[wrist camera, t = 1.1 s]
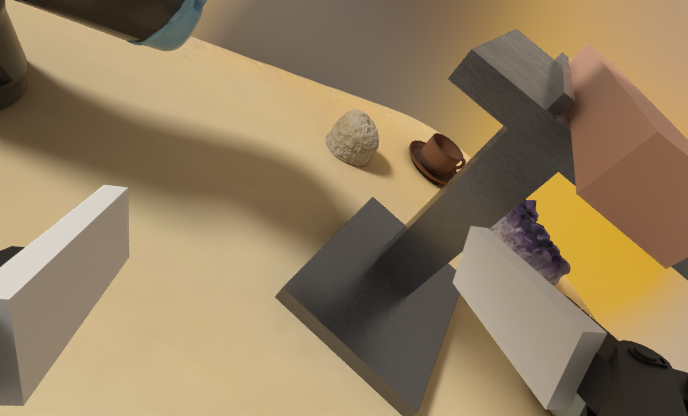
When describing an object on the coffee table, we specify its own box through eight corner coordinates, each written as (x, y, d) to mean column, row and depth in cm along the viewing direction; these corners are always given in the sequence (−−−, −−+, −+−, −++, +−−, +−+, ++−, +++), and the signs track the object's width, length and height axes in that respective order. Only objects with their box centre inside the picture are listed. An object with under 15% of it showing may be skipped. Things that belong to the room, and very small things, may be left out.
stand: (399, 435, 38) (758, 257, 20) (263, 308, 40) (484, 33, 21) (458, 277, 61) (653, 126, 43) (370, 200, 62) (523, 20, 44)
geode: (462, 205, 78) (503, 171, 73) (496, 223, 85) (535, 193, 80) (508, 293, 64) (563, 259, 59) (544, 307, 71) (596, 277, 66)
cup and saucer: (433, 151, 88) (452, 131, 84) (461, 192, 82) (482, 171, 78) (395, 143, 81) (413, 120, 77) (422, 187, 74) (443, 164, 71)
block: (666, 269, 14) (762, 216, 12) (576, 193, 14) (657, 131, 12) (591, 87, 46) (615, 65, 44) (565, 65, 46) (587, 43, 45)
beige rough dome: (349, 159, 74) (357, 109, 72) (385, 169, 68) (395, 114, 66) (314, 158, 68) (321, 103, 66) (350, 169, 62) (359, 108, 60)
